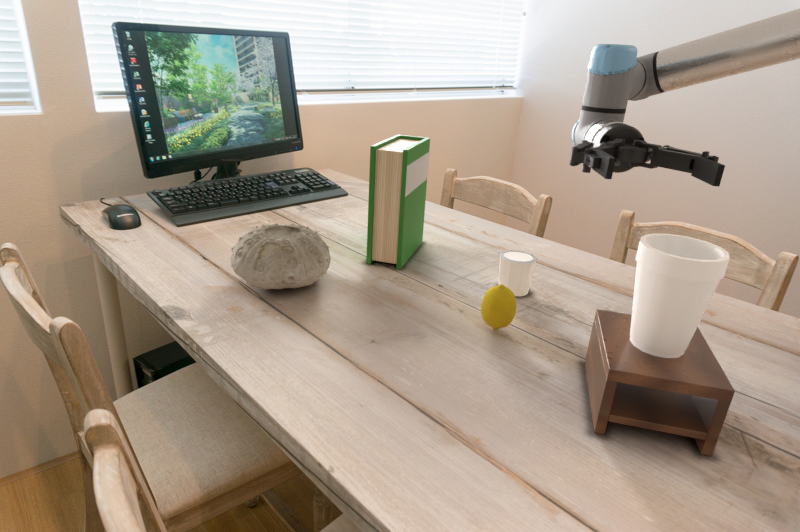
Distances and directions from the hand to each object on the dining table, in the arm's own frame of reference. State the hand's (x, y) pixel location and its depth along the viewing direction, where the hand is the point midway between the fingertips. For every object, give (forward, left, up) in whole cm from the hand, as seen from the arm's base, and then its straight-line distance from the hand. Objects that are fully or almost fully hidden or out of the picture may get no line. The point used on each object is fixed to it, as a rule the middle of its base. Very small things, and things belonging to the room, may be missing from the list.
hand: (664, 172), depth 67 cm
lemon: (+18, -4, -29) cm, 34 cm away
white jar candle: (+16, -21, -29) cm, 39 cm away
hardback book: (+42, -32, -29) cm, 61 cm away
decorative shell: (+58, -9, -29) cm, 66 cm away
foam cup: (-2, +10, -20) cm, 22 cm away
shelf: (-2, +10, -29) cm, 30 cm away
